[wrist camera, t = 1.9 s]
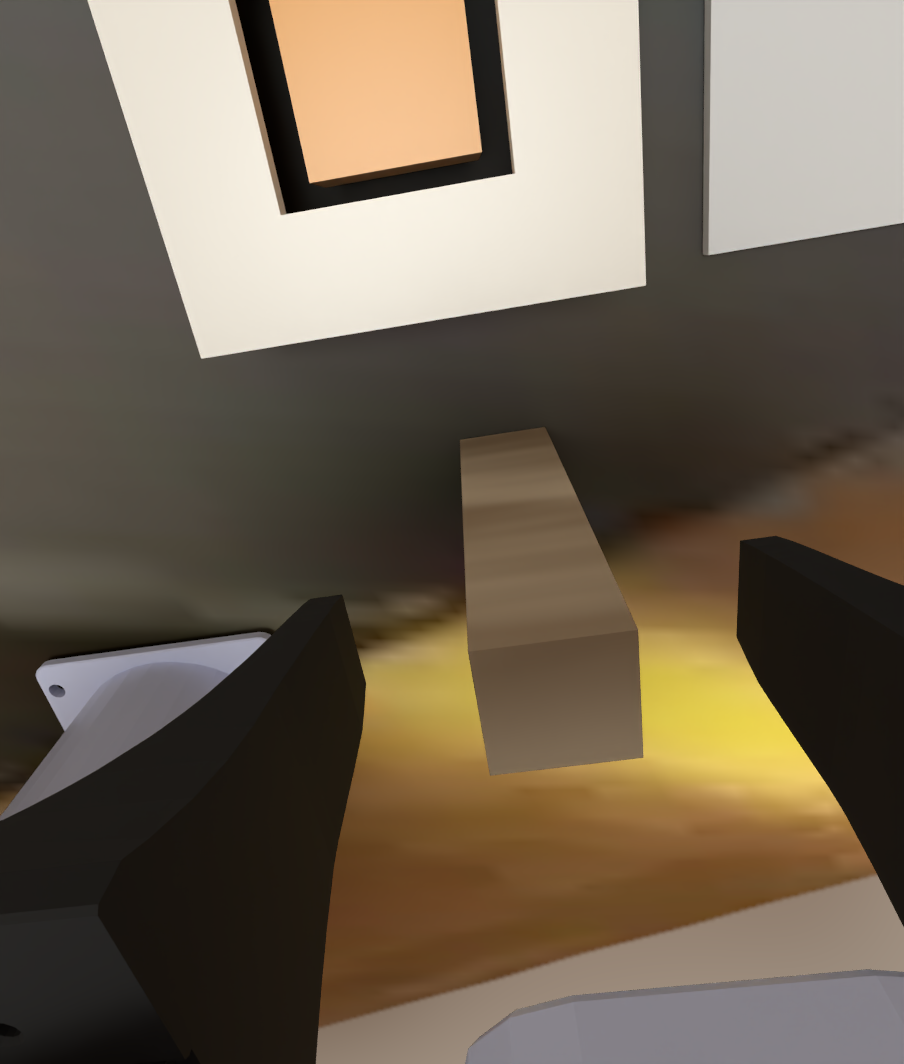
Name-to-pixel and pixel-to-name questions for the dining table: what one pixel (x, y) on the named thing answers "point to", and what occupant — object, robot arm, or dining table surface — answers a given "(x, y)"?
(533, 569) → the brown wooden bar
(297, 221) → the frame
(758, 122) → the mat
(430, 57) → the button
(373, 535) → the dining table surface
